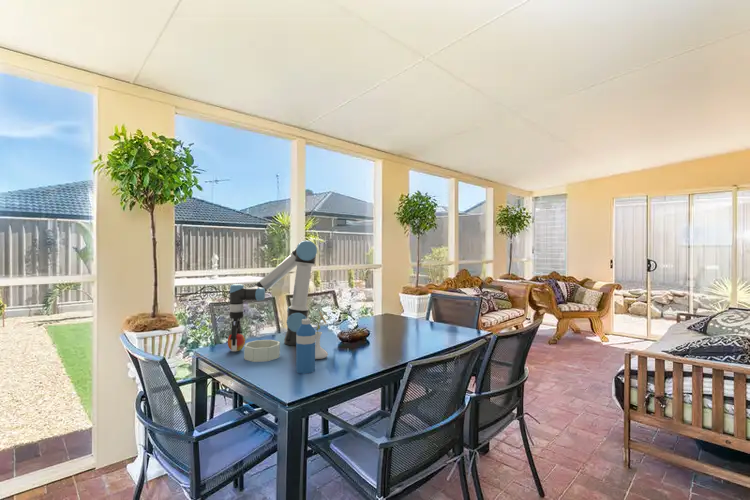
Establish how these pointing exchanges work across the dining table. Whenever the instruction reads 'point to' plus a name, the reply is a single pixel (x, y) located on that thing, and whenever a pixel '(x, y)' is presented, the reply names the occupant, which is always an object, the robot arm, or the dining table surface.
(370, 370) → the dining table surface
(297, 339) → the water bottle
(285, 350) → the dining table surface
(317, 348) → the flower in vase
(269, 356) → the white faceted bowl
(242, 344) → the apple
